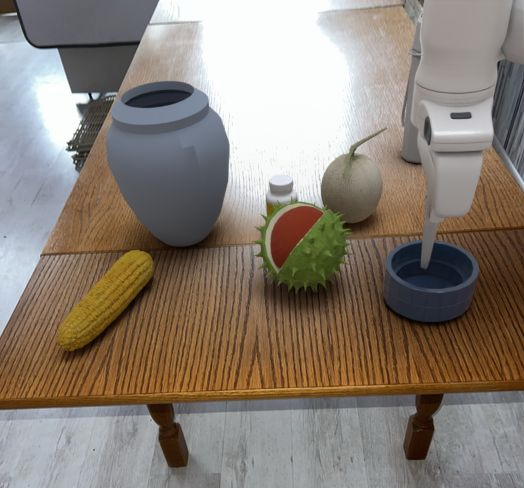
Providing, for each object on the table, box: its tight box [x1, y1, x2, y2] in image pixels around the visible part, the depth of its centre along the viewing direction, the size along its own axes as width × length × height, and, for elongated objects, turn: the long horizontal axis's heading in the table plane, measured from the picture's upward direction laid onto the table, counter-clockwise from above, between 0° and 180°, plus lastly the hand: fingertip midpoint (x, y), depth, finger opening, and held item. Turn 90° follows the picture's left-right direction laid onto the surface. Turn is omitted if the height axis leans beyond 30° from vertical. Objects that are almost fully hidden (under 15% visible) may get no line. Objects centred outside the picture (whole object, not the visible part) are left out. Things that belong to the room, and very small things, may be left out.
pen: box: [421, 190, 439, 269], centre depth 75 cm, size 2×3×14 cm
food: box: [56, 249, 155, 352], centre depth 82 cm, size 21×6×6 cm, turn 158°
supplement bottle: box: [265, 173, 299, 217], centre depth 94 cm, size 5×5×10 cm
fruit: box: [320, 126, 388, 224], centre depth 93 cm, size 10×12×15 cm
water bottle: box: [400, 16, 422, 164], centre depth 106 cm, size 9×8×25 cm
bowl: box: [382, 239, 480, 323], centre depth 79 cm, size 13×13×6 cm
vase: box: [105, 80, 231, 248], centre depth 90 cm, size 20×20×24 cm
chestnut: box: [251, 196, 354, 296], centre depth 81 cm, size 15×14×15 cm
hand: (433, 212), depth 74 cm, fingers closed on pen, 2 cm apart
